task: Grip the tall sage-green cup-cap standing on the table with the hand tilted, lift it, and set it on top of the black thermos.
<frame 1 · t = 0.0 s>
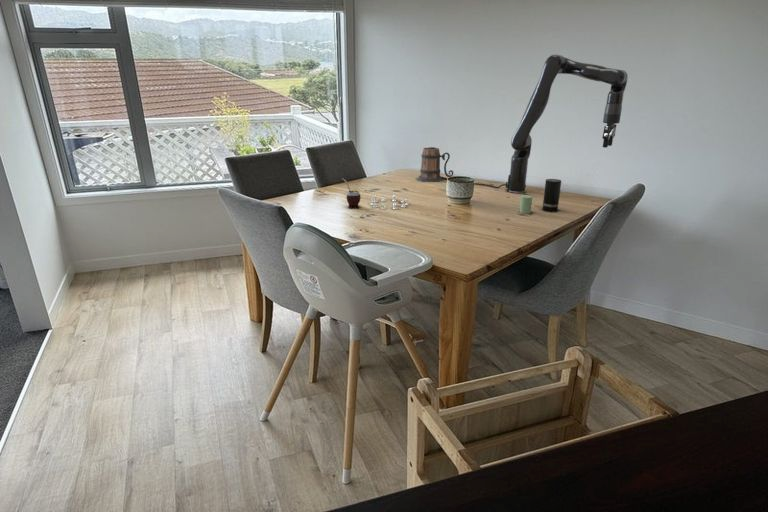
hand: (607, 146, 240), 29 cm above the table, tool pointing down, fingers open, 8 cm apart
cap: (525, 212, 232), on the table
game piece set: (389, 204, 246), on the table
tankard: (434, 180, 308), on the table
mate gourd: (352, 207, 240), on the table
thermos: (549, 210, 236), on the table
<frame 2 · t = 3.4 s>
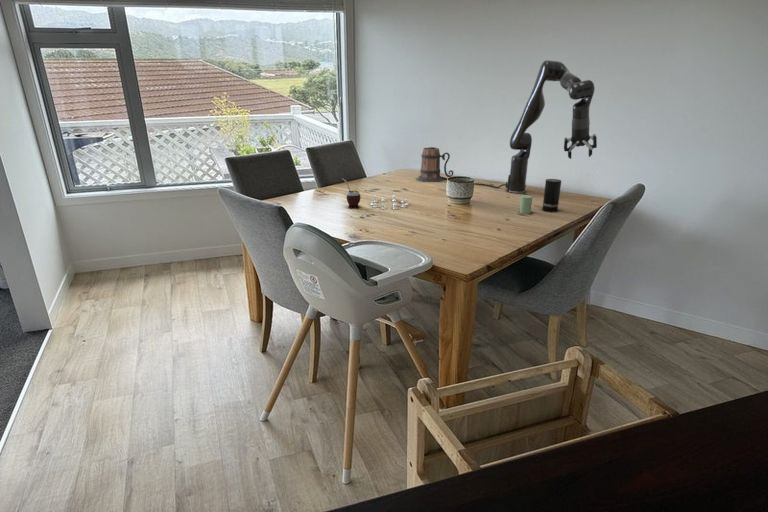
hand: (579, 157, 227), 26 cm above the table, tool tilted 20°, fingers open, 8 cm apart
nothing on the table moved.
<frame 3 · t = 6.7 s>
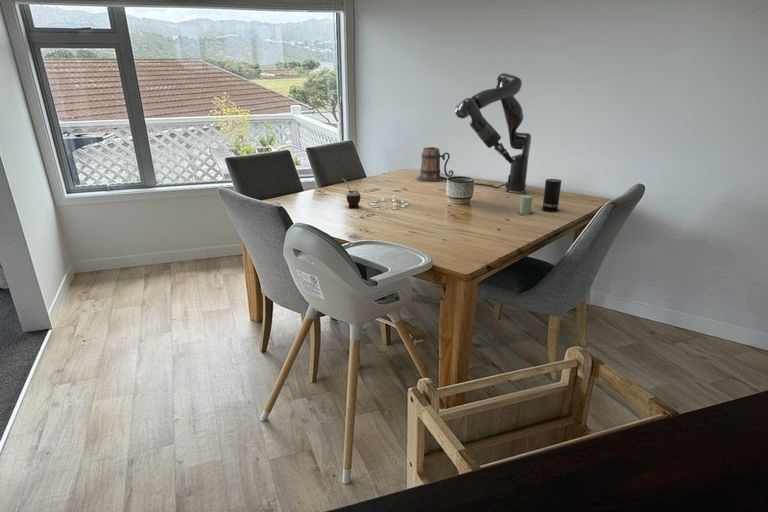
hand: (510, 160, 224), 25 cm above the table, tool tilted 45°, fingers open, 8 cm apart
nothing on the table moved.
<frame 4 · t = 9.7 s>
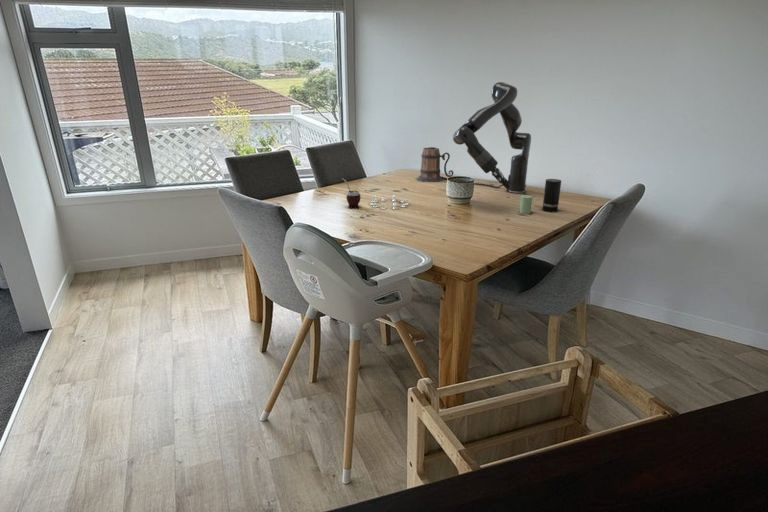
hand: (508, 185, 229), 13 cm above the table, tool tilted 45°, fingers open, 8 cm apart
nothing on the table moved.
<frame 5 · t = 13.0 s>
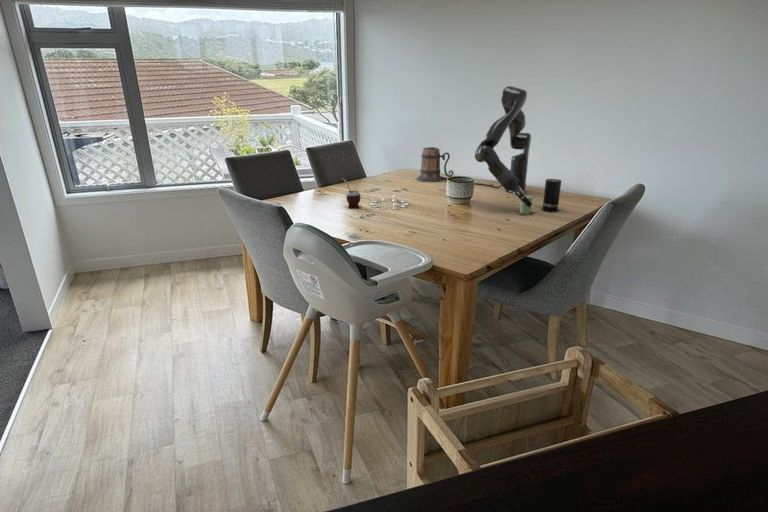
hand: (529, 204, 230), 4 cm above the table, tool tilted 45°, fingers closed on cap, 5 cm apart
cap: (525, 212, 232), on the table, touching gripper
everything else where it was.
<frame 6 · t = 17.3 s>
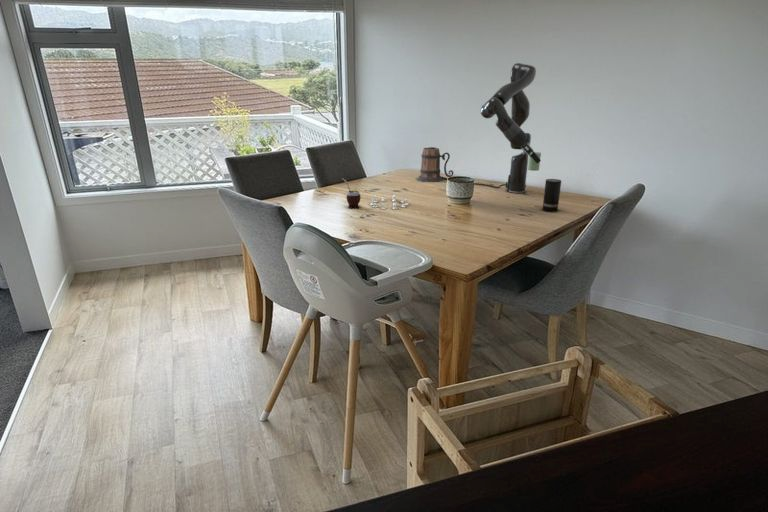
hand: (538, 160, 223), 25 cm above the table, tool tilted 45°, fingers closed on cap, 5 cm apart
cap: (533, 169, 225), point 21 cm above the table, touching gripper
everything else where it was.
when the fingers open (19 cm above the table, at t = 21.7 s): cap stays where it is, resting on thermos.
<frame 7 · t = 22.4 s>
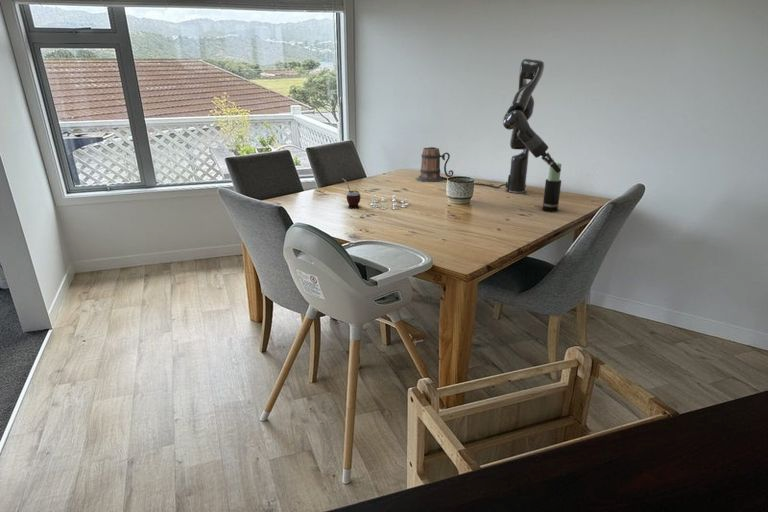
hand: (557, 170, 229), 20 cm above the table, tool tilted 45°, fingers open, 8 cm apart
cap: (553, 180, 231), point 15 cm above the table, touching thermos
everything else where it was.
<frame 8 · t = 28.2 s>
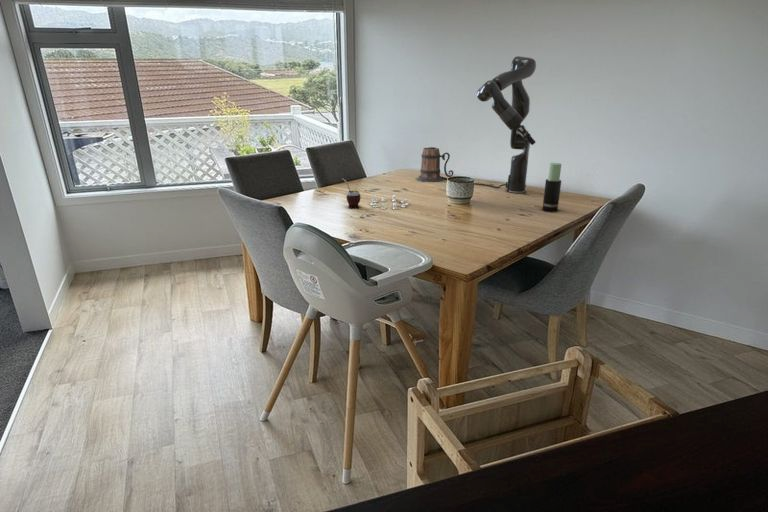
hand: (532, 142, 226), 33 cm above the table, tool tilted 45°, fingers open, 8 cm apart
nothing on the table moved.
at the end: cap 0.0 cm off-centre on the thermos, point 15.0 cm above the thermos's base; cap tilted 0°; the gripper is holding nothing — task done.
